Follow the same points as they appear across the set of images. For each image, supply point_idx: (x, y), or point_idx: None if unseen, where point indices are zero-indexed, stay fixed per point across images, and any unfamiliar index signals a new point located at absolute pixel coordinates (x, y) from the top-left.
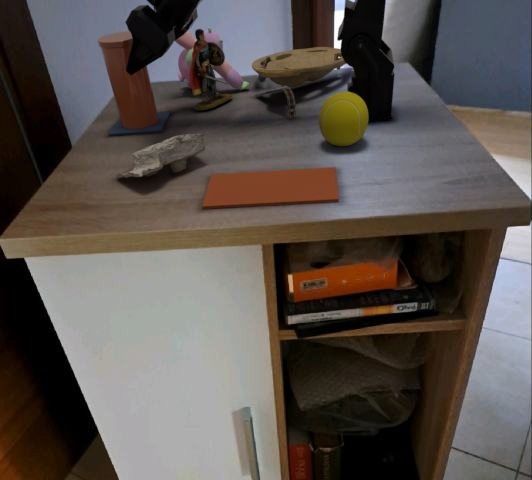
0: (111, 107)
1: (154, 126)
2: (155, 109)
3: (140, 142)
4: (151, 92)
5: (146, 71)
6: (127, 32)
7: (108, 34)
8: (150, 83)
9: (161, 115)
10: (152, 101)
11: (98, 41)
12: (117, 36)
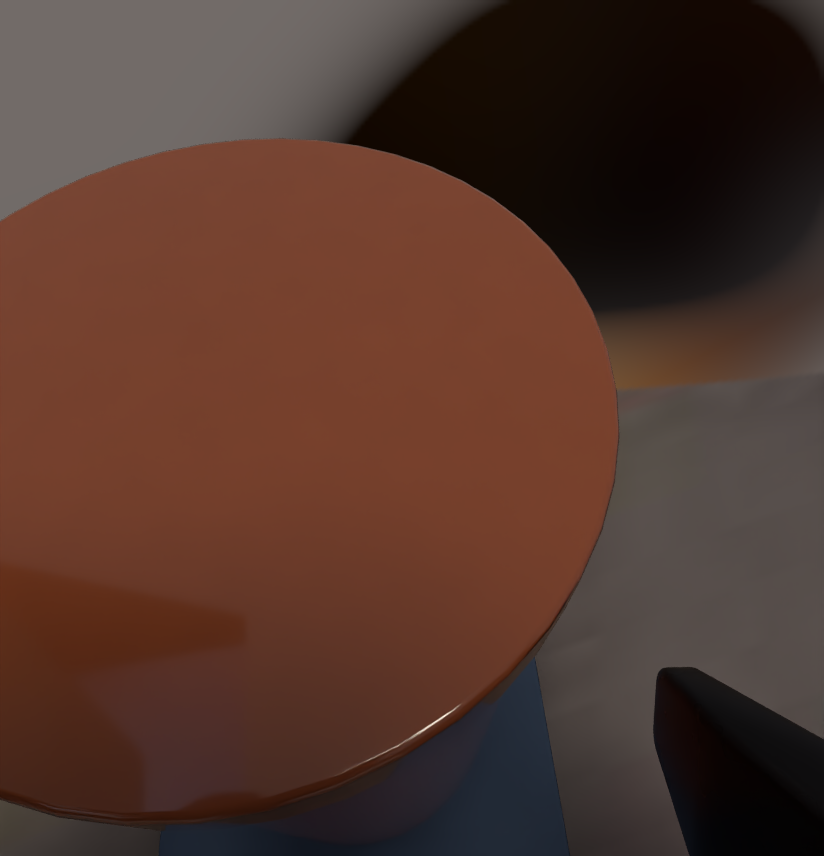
0: (672, 391)
1: (247, 848)
2: (342, 842)
3: (17, 811)
4: (321, 837)
5: (276, 828)
6: (507, 423)
7: (446, 181)
8: (350, 830)
9: (479, 832)
10: (308, 838)
11: (65, 187)
12: (243, 347)
